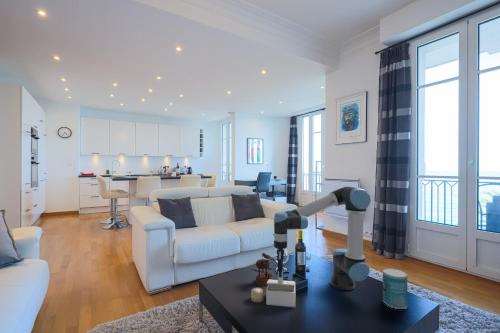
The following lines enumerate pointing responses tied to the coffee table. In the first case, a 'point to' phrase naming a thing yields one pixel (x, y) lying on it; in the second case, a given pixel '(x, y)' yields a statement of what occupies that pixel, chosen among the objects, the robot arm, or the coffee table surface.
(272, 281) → the lid
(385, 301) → the food can
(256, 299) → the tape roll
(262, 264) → the brown tall irregular piece
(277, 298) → the carton
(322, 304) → the coffee table surface
